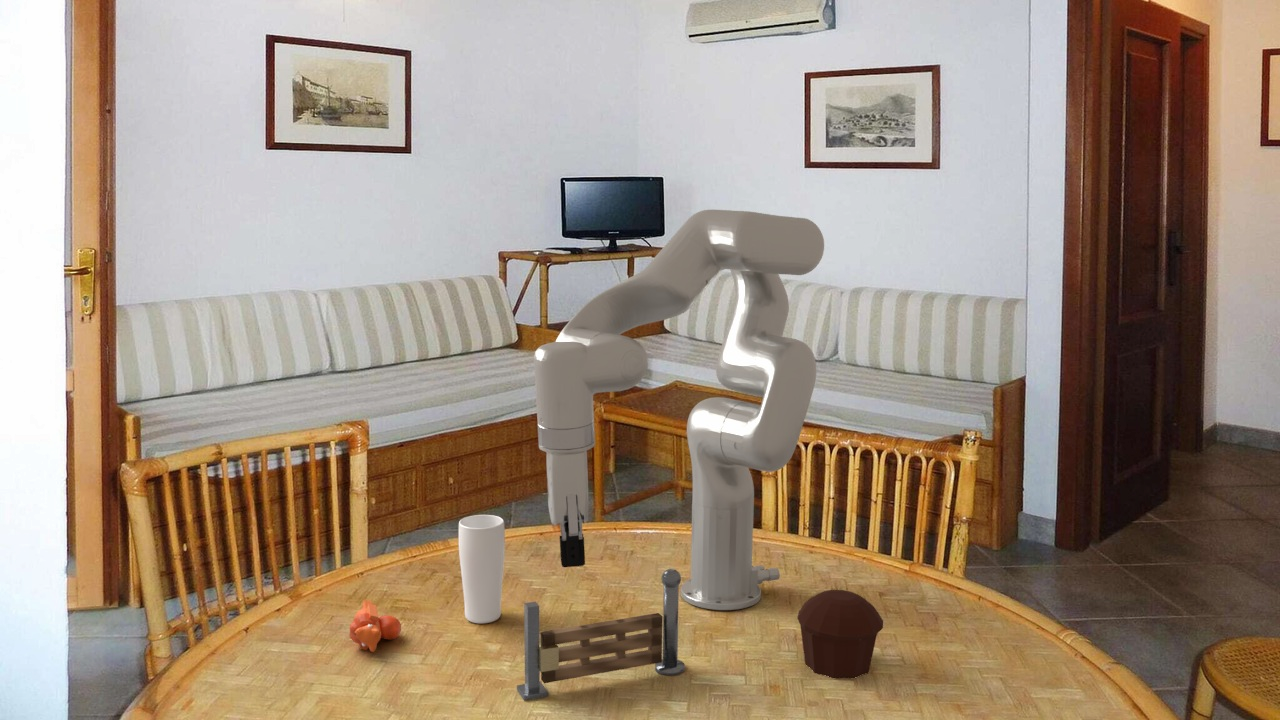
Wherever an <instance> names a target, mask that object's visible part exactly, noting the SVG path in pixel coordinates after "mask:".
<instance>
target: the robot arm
mask: <svg viewBox="0 0 1280 720" xmlns="http://www.w3.org/2000/svg"><path fill="white" fill-rule="evenodd" d="M824 251H825V240H824V236H823V232H822V231H821V229H820V227H819V226H818V225H817V224H816V223H815V222H814V221H813V220H810V219H809V218H805V217H794V216H787V215H786V216H785V215H776V214H771V213H770V214H769V213H764V212H757V211H756V212H755V211H747V210H745V211H744V210H731V209H730V210H729V209H728V210H727V209H704V210H700V211H698V212H696V213H693V215H691V216H689V218H688V219H687V220H686V221H685V222H684V223H683V225H682V226H681V227H680V228H679V229H678V230H677V231H676V232H675V234H674V235H673V236H672V237H671V238H670V239H669V240H668V241H667V243H666V244H665V245H664V246H663V247H662V249H660V251H659V252H658V253H657V254H656V255H655V256H654V257H653V258H652V260H651V261H650V262H649V263H648V264H647V266H646V267H645V268H644V269H643V270H641V271H640V272H638V273H636V274H634V275H633V276H632V275H631V276H630V277H627V278H626V279H624V280H622V281H620V282H619V283H616V284H615V285H614V286H612V287H610V288H607V289H606V290H604V291H603V292H601V293H599V294H597V295H596V296H594V297H593V298H592V299H590V300H588V302H586V303H585V304H584V305H583V306H582V307H581V308H580V309H579V310H578V311H577V312H576V313H575V314H574V316H573V317H572V318H571V319H570V320H569V321H568V322H567V323H566V325H565V326H564V327H563V329H562V330H561V331H560V333H559V334H558V336H557V337H556V339H555V341H553V342H549V343H545V344H542V345H540V346H539V347H538V348H537V349H536V350H535V352H534V356H533V365H534V367H533V368H534V382H535V383H534V385H535V403H536V405H535V406H536V416H537V417H536V418H537V437H538V439H537V440H538V441H537V442H538V448H539V450H540V451H542V452H545V453H546V459H545V460H546V480H547V481H546V482H547V503H548V504H547V505H548V513H549V519H550V522H551V524H552V525H553V526H557V525H560V535H559V549H560V551H559V552H560V562H561V567H563V568H572V567H573V568H574V567H583V566H585V565H586V554H585V553H586V552H585V537H584V534H583V524H585V523H586V522H588V520H589V479H588V477H589V475H588V474H589V473H588V452H587V451H588V450H591V449H592V448H594V447H595V446H596V433H595V415H594V414H595V412H594V409H595V408H594V395H595V394H598V393H599V394H600V393H609V392H611V393H613V392H622V391H626V390H629V389H632V388H635V386H637V385H638V384H639V383H641V381H642V380H643V379H644V378H645V376H646V374H647V371H648V368H649V367H648V366H649V356H648V354H647V351H646V349H645V347H644V346H643V345H642V344H641V343H640V342H639V341H637V340H636V339H634V338H632V337H629V336H626V335H622V334H623V333H625V332H628V331H630V330H632V329H634V328H637V327H640V326H644V325H647V324H652V323H657V322H660V321H665V320H668V319H671V318H675V317H677V316H680V315H682V314H684V313H686V312H687V311H688V310H690V308H691V307H692V305H694V303H695V302H696V301H697V300H698V298H699V297H700V296H701V295H702V293H703V292H705V289H707V287H708V286H709V285H710V284H711V283H712V281H713V280H714V279H715V278H716V277H717V276H718V275H719V273H720V272H721V271H724V270H730V273H731V276H732V279H733V283H734V287H735V289H734V290H735V296H734V297H735V298H734V303H733V307H732V310H731V311H732V312H731V315H730V318H729V322H728V325H727V327H726V328H727V329H726V331H725V334H724V337H723V341H722V344H721V347H720V350H719V353H718V354H719V355H718V359H717V361H716V367H715V374H716V378H717V380H718V382H719V383H720V384H721V385H722V386H723V387H725V388H726V389H729V390H731V391H734V392H738V393H741V394H746V395H750V396H755V397H761V398H762V401H761V404H756V403H753V402H749V401H743V400H738V399H733V398H729V397H719V396H717V397H709V398H706V399H703V400H701V401H699V402H697V404H696V405H694V407H693V408H692V409H691V411H690V412H689V415H688V419H687V423H686V436H687V438H686V439H687V443H688V450H689V455H690V461H691V462H690V463H691V470H692V471H691V473H692V495H691V496H692V500H691V503H692V504H691V547H690V548H691V549H690V550H691V552H690V553H691V555H690V558H691V559H690V578H689V579H688V580H685V581H684V582H683V583H682V585H681V586H680V596H681V598H682V599H683V600H684V602H686V603H688V604H691V605H693V606H695V607H698V608H702V609H707V610H711V611H712V610H714V611H735V610H741V609H746V608H749V607H752V606H754V605H756V604H757V603H758V602H760V600H761V598H762V589H761V587H760V586H759V585H762V584H763V582H773V581H778V580H779V579H780V577H781V575H780V570H779V568H777V567H773V568H766V569H765V566H764V565H762V564H761V565H755V566H753V545H754V544H753V539H754V507H755V505H754V504H755V503H754V502H755V487H754V482H753V477H752V474H751V472H750V469H753V470H757V471H761V472H776V471H780V470H781V469H782V468H784V467H785V466H786V465H787V464H788V463H789V462H790V460H791V458H792V457H793V455H794V452H795V451H796V447H797V445H798V442H799V438H800V436H801V432H802V428H803V427H804V426H803V425H804V423H805V419H806V416H807V412H808V409H809V406H810V403H811V400H812V396H813V392H814V389H815V384H816V380H817V363H816V357H815V354H814V353H813V350H812V349H811V347H809V345H808V344H807V343H805V342H803V341H801V340H799V339H796V338H793V337H788V336H787V337H786V336H784V331H785V328H786V323H787V319H788V316H789V311H790V303H789V298H788V297H789V296H788V292H787V290H786V287H785V285H784V283H783V281H782V279H781V277H780V275H790V276H804V275H807V274H809V273H810V272H812V271H813V270H815V268H817V266H818V265H819V264H820V263H821V260H822V258H823V256H824Z"/></svg>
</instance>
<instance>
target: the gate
mask: <svg viewBox="0 0 1280 720" xmlns="http://www.w3.org/2000/svg"><path fill="white" fill-rule="evenodd" d="M645 630H646V631H648V632H643V633H636V634H635V633H634V634H630V635H626V634H629V633H632V632H639V631H645ZM609 636H615V637H612V638H607V639H602V640H594V641H591V639H598V638H604V637H609ZM574 642H579V643H577V644H571V645H563V646H558V645H562V644H568V643H574ZM551 645H557V646H558V647H559V663H562V662H563V663H564V662H569V661H575V660H579V661H578V662H572V663H566V664H559V669H557V670H551V671H545V672H540V680H541V682H543V684H549V683H555V682H560V681H564V680H565V681H566V680H571V679H577V678H581V677H587V676H588V677H589V676H593V675H598V674H599V675H600V674H604V673H610V672H615V671H621V670H627V669H631V668H637V667H643V666H647V665H655V663H661V662H662V659H663V614H662V615H661V614H660V613H659V612H656V613H651V614H643V615H638V616H632V617H625V618H619V619H618V618H617V619H612V620H606V621H600V622H595V623H594V622H593V623H589V624H587V623H586V624H581V625H576V626H569V627H563V628H558V629H551V630H545V631H541V632H540V647H545V646H551ZM644 648H647V649H646V650H641V651H635V652H629V653H626V652H627V651H633V650H639V649H644ZM610 654H614V655H612V656H606V657H600V658H595V659H591V658H592V657H598V656H603V655H610Z"/></svg>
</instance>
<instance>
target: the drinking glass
mask: <svg viewBox="0 0 1280 720" xmlns="http://www.w3.org/2000/svg"><path fill="white" fill-rule="evenodd" d="M505 530H506V529H505V521H504V519H503V518H502V517H500V516H498V515H492V514H474V515H470V516H465V517H463V518H461V519H460V520H459V521H458V534H457V535H458V541H457V542H458V543H457V544H458V554H459V565H460V574H461V582H462V592H463V602H464V603H463V604H464V617H465V619H466V620H467V621H468V622H470V623H473V624H488V623H493V622H495V621H497V620H499V618H500V617H501V612H502V593H503V592H502V590H503V580H504V579H503V575H504V564H505V552H506V551H505V549H506V535H505V534H506V533H505Z"/></svg>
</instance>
